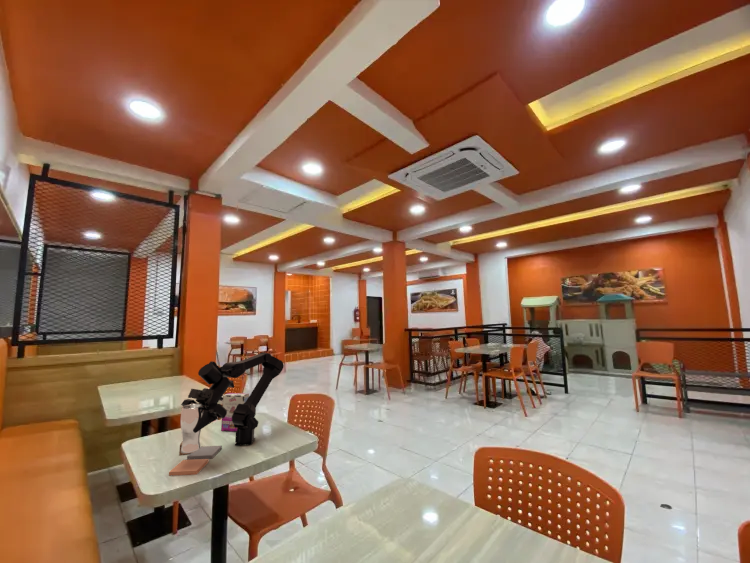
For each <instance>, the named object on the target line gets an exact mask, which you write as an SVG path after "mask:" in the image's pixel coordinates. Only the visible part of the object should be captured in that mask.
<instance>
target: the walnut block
mask: <svg viewBox="0 0 750 563" xmlns="http://www.w3.org/2000/svg"><path fill="white" fill-rule="evenodd" d="M182 442H183V440H182V441H181V443H180V444H179V452H178V453H179V455H178V456H185V455H187V456H188V455H189V454H191V453H181V447H182Z"/></svg>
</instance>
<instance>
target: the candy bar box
mask: <svg viewBox="0 0 750 563" xmlns="http://www.w3.org/2000/svg"><path fill="white" fill-rule="evenodd" d="M249 396H250V393H246V392H245V393H241V392H237V393H235V392H227V393H224V394H223V396H222V398H223V400H222V401H221V405H222V406H223V407H224V408H225V409H226V410H227V414H226V416H225V418H224V419H223V418H221V427H220V428H221V432H231V433H233V432H235V433H236V432H237V428H235V427H234V424H233V422H232V415H233V411H234V410H235V409H236V407H237V405H238V404H244V403H245V402H246V401H247V399H248V397H249Z"/></svg>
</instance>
